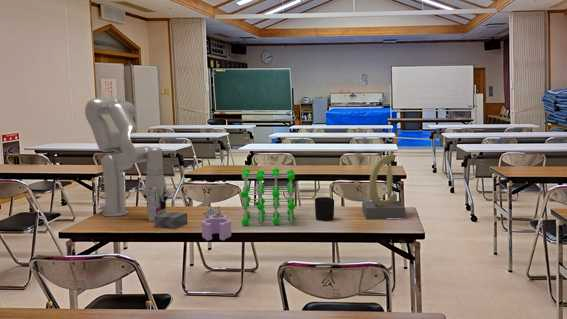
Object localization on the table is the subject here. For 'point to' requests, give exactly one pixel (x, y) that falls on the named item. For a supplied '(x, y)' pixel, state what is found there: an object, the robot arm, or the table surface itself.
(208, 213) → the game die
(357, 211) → the table surface
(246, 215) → the molecular structure model
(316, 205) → the pen holder
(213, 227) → the clip
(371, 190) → the trophy
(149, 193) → the candy bar box
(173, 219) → the charcoal block
